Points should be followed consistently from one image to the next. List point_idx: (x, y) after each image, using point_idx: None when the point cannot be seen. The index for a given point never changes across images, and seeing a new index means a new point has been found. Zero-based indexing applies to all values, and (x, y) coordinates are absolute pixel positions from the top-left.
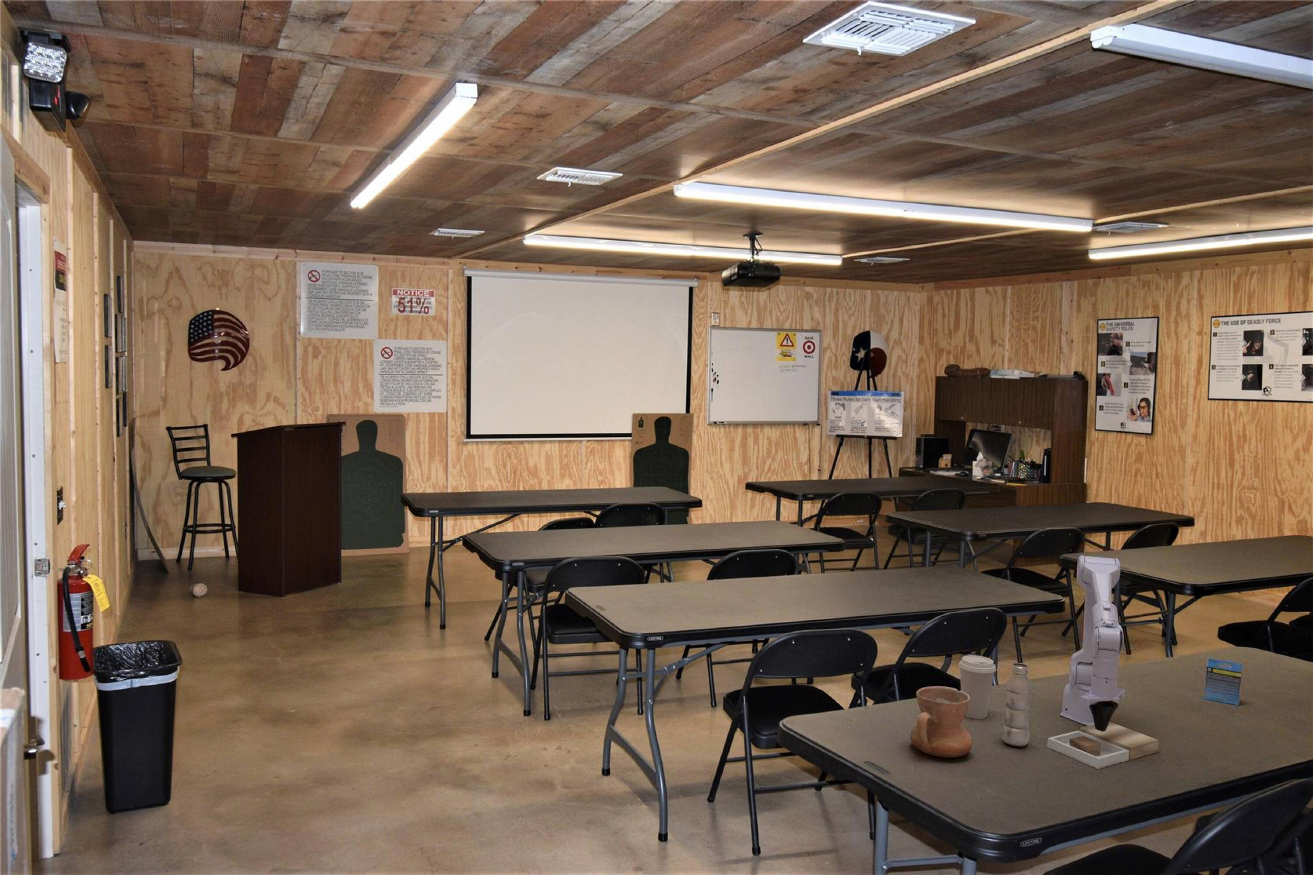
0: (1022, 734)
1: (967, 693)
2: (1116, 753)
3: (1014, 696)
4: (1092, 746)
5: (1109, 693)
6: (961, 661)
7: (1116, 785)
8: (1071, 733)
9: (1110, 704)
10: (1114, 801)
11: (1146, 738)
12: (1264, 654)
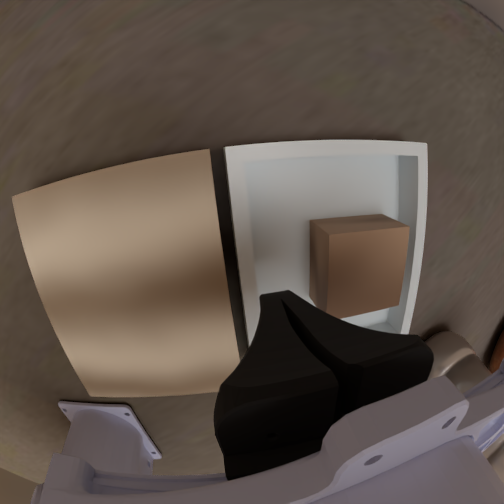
0: (466, 344)
1: None
2: (320, 144)
3: None
4: (380, 226)
5: (480, 474)
6: None
7: (433, 49)
8: None
9: (333, 405)
10: (477, 26)
11: (42, 226)
12: None
